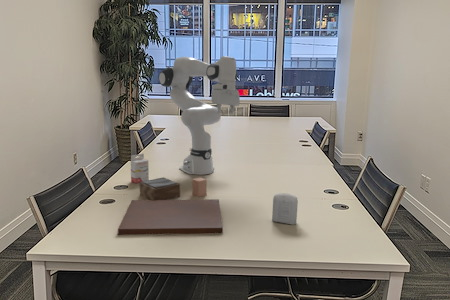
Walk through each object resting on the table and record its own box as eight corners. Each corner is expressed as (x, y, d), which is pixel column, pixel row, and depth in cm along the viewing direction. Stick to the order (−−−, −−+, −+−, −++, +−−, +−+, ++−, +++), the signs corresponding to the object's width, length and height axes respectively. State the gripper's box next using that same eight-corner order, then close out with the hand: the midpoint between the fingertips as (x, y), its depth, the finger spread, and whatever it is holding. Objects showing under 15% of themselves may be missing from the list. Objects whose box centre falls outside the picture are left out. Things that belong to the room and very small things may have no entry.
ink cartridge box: (135, 183, 220) (134, 157, 217) (130, 181, 224) (129, 155, 221) (149, 180, 226) (148, 154, 223) (144, 178, 230) (143, 153, 227)
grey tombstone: (297, 222, 171) (299, 193, 168) (295, 225, 167) (296, 196, 164) (273, 218, 175) (274, 190, 172) (270, 221, 171) (272, 193, 168)
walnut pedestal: (140, 195, 202) (139, 181, 200) (164, 189, 211) (163, 176, 209) (155, 202, 192) (154, 188, 190) (179, 196, 201) (179, 182, 199)
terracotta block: (192, 194, 204) (192, 179, 202) (200, 192, 207) (200, 177, 205) (198, 197, 200) (198, 181, 198) (206, 195, 203) (206, 179, 202)
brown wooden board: (222, 235, 159) (219, 205, 191) (222, 227, 158) (219, 199, 190) (118, 236, 157) (132, 206, 189) (117, 229, 156) (131, 200, 188)
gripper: (233, 89, 226) (232, 114, 227) (210, 85, 210) (208, 112, 211) (243, 89, 222) (241, 114, 223) (219, 85, 206) (218, 112, 207)
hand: (225, 113), depth 217 cm, fingers open, 8 cm apart
